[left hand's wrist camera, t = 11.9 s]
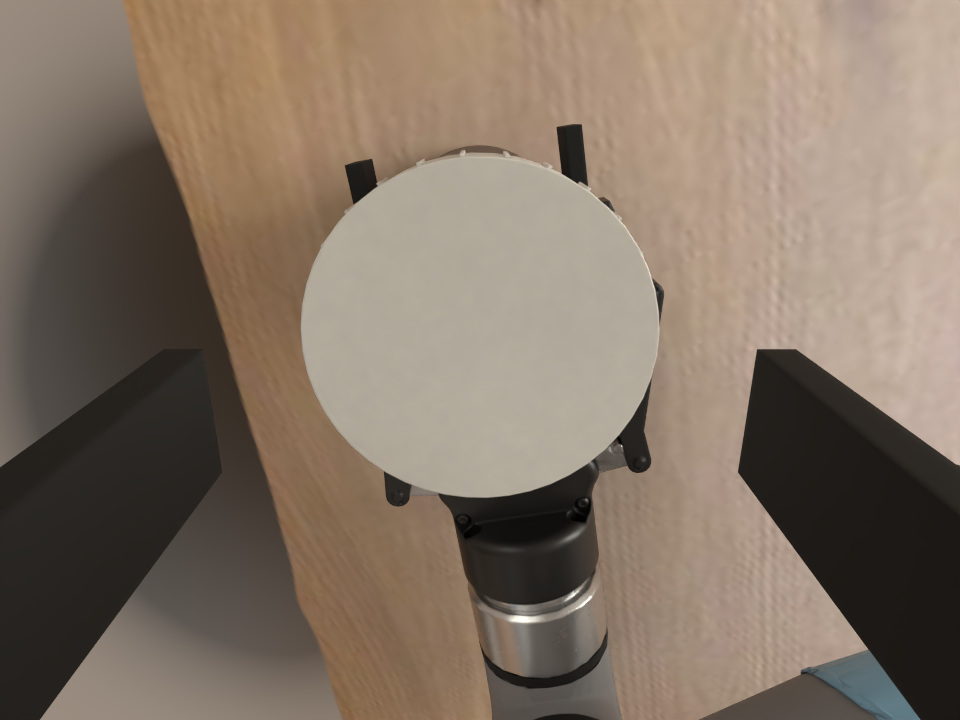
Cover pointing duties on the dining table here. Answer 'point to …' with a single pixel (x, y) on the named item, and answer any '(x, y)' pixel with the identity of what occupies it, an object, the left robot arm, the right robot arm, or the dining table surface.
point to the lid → (479, 325)
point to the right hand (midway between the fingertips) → (462, 144)
